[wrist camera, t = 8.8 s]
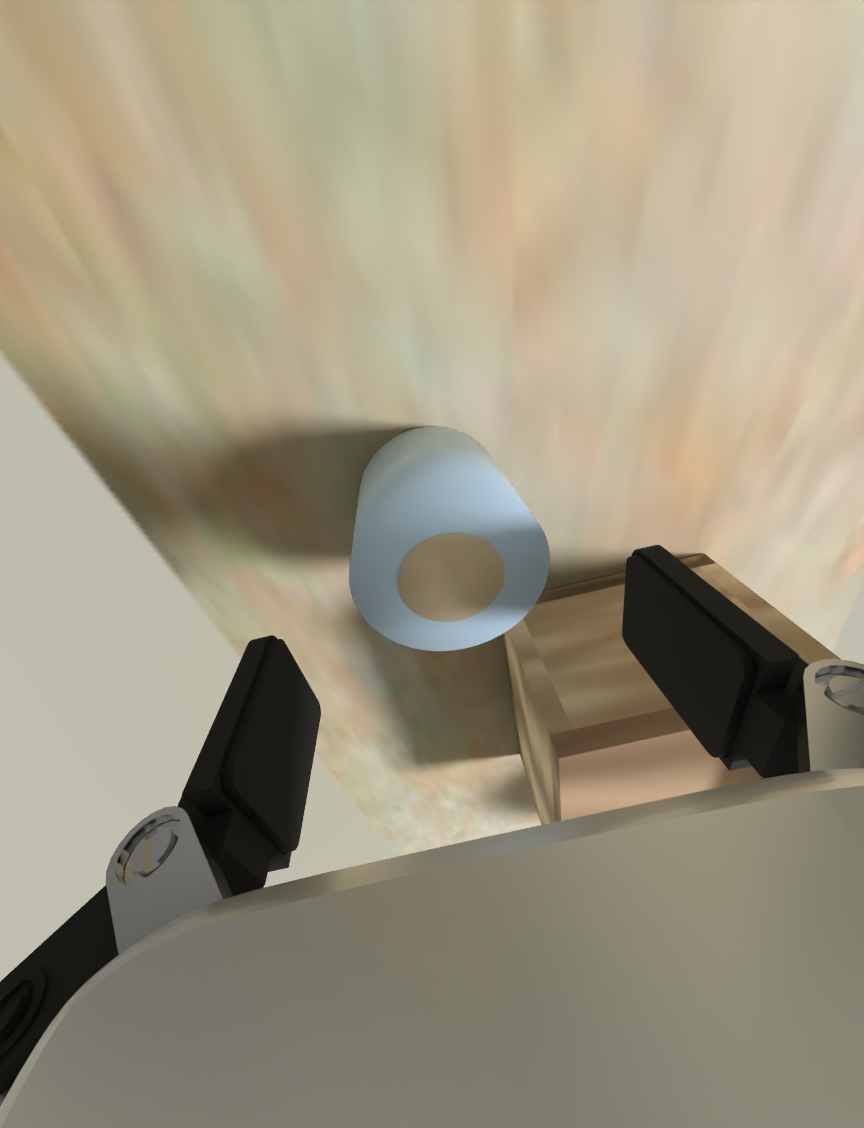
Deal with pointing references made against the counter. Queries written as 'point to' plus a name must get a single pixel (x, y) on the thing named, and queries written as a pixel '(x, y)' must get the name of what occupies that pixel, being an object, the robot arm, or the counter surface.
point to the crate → (601, 663)
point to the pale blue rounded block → (443, 544)
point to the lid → (633, 764)
